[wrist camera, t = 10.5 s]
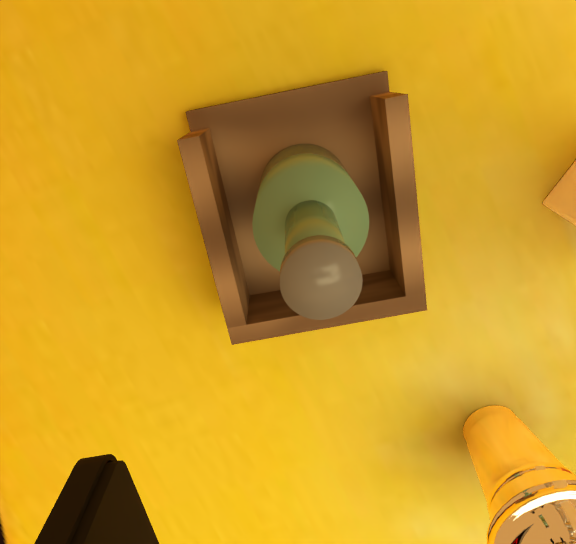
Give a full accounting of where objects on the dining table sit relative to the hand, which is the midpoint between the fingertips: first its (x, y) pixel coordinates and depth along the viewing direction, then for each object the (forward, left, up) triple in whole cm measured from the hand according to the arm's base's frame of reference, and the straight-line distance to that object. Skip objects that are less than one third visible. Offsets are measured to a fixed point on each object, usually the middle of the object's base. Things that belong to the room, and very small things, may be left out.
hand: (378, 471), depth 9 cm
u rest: (+1, 0, -25) cm, 25 cm away
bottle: (0, 0, -24) cm, 24 cm away
